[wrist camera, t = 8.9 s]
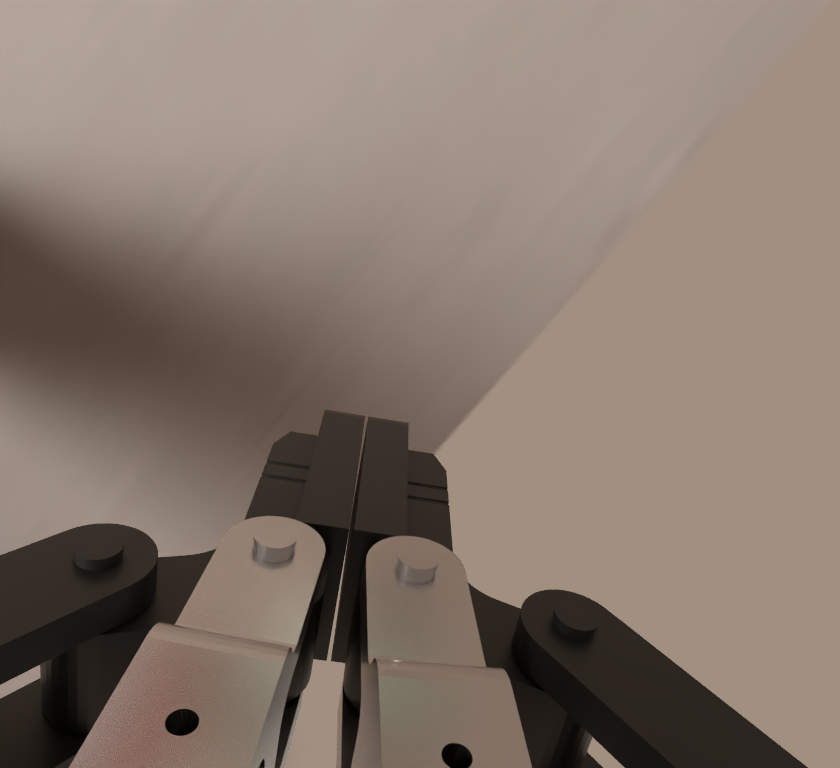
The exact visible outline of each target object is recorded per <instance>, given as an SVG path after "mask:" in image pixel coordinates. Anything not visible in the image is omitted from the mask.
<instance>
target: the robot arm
mask: <svg viewBox="0 0 840 768" xmlns="http://www.w3.org/2000/svg"><path fill="white" fill-rule="evenodd" d="M364 420H365V416H361V415H355V414H349V413H343V412H336V411H330V410H325V412H324V416H323V419H322V423H321V427H320V431H319V435H318V436H315V435H309V434H302V433H296V432H290V433H288V434H287V435H285V436H284V437H282V438H281V439H280V440H278V441H277V442H275V443H274V444H273V446H272V449H271V452H270V454H269V457H268V460H267V463H266V465H265V467H264V470H263V473H262V477H261V478H260V481H259V483H258V486H257V489H256V491H255V494H254V497H253V499H252V502H251V505H250V507H249V510H248V512H247V515H246V518H245V520H244V521H241V522H239V523H237V524H235V525H234V526H232V527H231V528H230V529H229V530H228V531H227V532H226V533H225V535H224V536H223V538H222V540H221V542H220V543H219V545H218V547H217V549H214V550H211V551H208V552H205V553H200V554H195V555H186V556H173V557H158V550H157V546H156V544H155V543H154V541H153V540H152V539H151V538H150V537H149V536H148V535H147V534H145V533H144V532H142V531H140V530H138V529H135V528H132V527H129V526H125V525H119V524H91V525H85V526H80V527H76V528H73V529H70V530H67V531H64V532H62V533H59V534H56V535H54V536H51V537H48V538H46V539H43V540H40V541H38V542H35V543H32V544H30V545H27V546H24V547H22V548H19V549H16V550H14V551H11V552H8V553H6V554H3V555H0V685H1V684H3V683H5V682H6V681H8V680H10V679H12V678H14V677H16V676H18V675H20V674H22V673H24V672H26V671H28V670H30V669H32V668H34V667H36V666H38V665H40V672H41V678H40V679H38V680H36V681H34V682H32V683H30V684H28V685H26V686H24V687H22V688H20V689H18V690H16V691H15V692H13V693H11V694H9V695H7V696H5V697H3V698H1V699H0V768H284V765H285V761H286V757H287V753H288V750H289V746H290V743H291V739H292V736H293V732H294V729H295V725H296V721H297V718H298V713H299V710H300V707H301V701H302V695H303V690H304V689H305V688H306V686H307V684H308V682H309V679H310V675H311V670H312V663H313V659H318V660H327V654H328V649H329V643H330V637H331V631H332V625H333V620H334V613H335V607H336V602H337V596H338V591H339V585H340V579H341V573H342V567H343V561H344V556H345V550H346V544H347V551H346V558H345V565H344V572H343V579H342V586H341V593H340V600H339V608H338V616H337V622H336V629H335V636H334V644H333V650H332V658H331V661H335V662H343V663H345V671H344V680H343V685H342V690H341V696H340V701H339V707H338V727H337V728H338V729H337V766H336V767H337V768H603V767H602V766H601V765H599V764H598V762H597V761H596V760H595V759H594V758H593V757H591V756H590V755H589V754H588V753H587V750H588V747H589V744H590V742H591V739H592V737H593V738H594V739H595V740H596V741H598V742H599V743H600V744H601V745H602V746H603V747H604V748H605V749H606V750H607V751H608V752H609V753H610V754H611V755H612V756H613V757H614V758H615V759H616V760H618V762H620V763H621V764H622V765H623V766H624V767H625V768H808V767H806V766H805V765H804V764H802V763H801V762H800V761H799V760H797V759H796V758H795V757H793V756H792V755H791V754H790V753H788V752H787V751H786V750H785V749H783V748H782V747H781V746H780V745H778V744H777V743H776V742H774V741H773V740H772V739H771V738H769V737H768V736H767V735H766V734H764V733H763V732H762V731H761V730H759V729H758V728H757V727H755V726H754V725H753V724H752V723H750V722H749V721H748V720H747V719H745V718H744V717H743V716H741V715H740V714H739V713H738V712H736V711H735V710H734V709H733V708H731V707H730V706H728V705H727V704H726V703H725V702H723V701H722V700H721V699H720V698H719V697H717V696H716V695H715V694H713V693H712V692H711V691H710V690H708V689H707V688H706V687H705V686H703V685H702V684H701V683H700V682H698V681H697V680H695V679H694V678H693V677H692V676H691V675H689V674H688V673H687V672H686V671H684V670H683V669H682V668H680V667H679V666H678V665H676V664H675V663H674V662H673V661H672V660H670V659H669V658H668V657H666V656H665V655H664V654H663V653H661V652H660V651H659V650H658V649H656V648H655V647H654V646H652V645H651V644H650V643H649V642H647V641H646V640H644V639H643V638H642V637H641V636H640V635H639V634H637V633H636V632H634V631H633V630H632V629H631V628H630V627H628V626H627V625H626V624H625V623H623V622H622V621H621V620H619V619H618V618H617V617H615V616H614V615H613V614H612V613H610V612H609V611H608V610H607V609H605V608H604V607H603V606H601V605H600V604H598V603H597V602H595V601H593V600H591V599H589V598H586V597H585V596H582V595H579V594H576V593H573V592H569V591H564V590H544V591H539V592H536V593H534V594H532V595H531V596H529V597H528V598H527V599H526V600H525V601H524V603H523V605H522V608H521V609H520V608H517V607H514V606H512V605H509V604H507V603H504V602H501V601H499V600H496V599H494V598H491V597H489V596H487V595H485V594H483V593H482V592H480V591H478V590H477V589H475V588H474V587H473V586H471V585H470V584H469V583H468V581H467V577H466V572H465V569H464V566H463V564H462V563H461V561H460V560H459V558H458V557H457V556H456V555H455V554H454V553H453V549H452V537H451V525H450V512H449V505H448V491H447V476H446V470H445V469H444V467H443V466H442V465H441V463H440V462H439V461H438V460H437V458H436V457H435V456H434V454H430V453H424V452H417V451H411V450H408V423H405V422H399V421H393V420H387V419H381V418H374V417H368V422H367V428H366V433H365V439H364V445H363V451H362V457H361V462H360V468H359V474H358V480H357V486H356V491H355V484H356V477H357V470H358V463H359V456H360V449H361V441H362V434H363V427H364ZM354 491H355V497H354ZM353 498H354V503H353ZM352 505H353V509H352ZM351 512H352V516H351ZM350 519H351V522H350ZM349 526H350V529H349ZM348 533H349V536H348ZM347 538H348V543H347Z"/></svg>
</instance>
